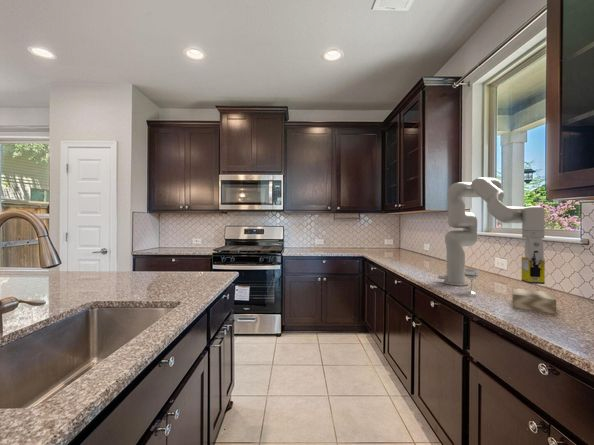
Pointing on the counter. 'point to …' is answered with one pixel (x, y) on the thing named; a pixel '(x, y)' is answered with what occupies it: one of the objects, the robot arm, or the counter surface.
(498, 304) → the counter surface
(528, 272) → the supplement box
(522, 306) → the riser block
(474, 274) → the wineglass
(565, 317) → the counter surface
